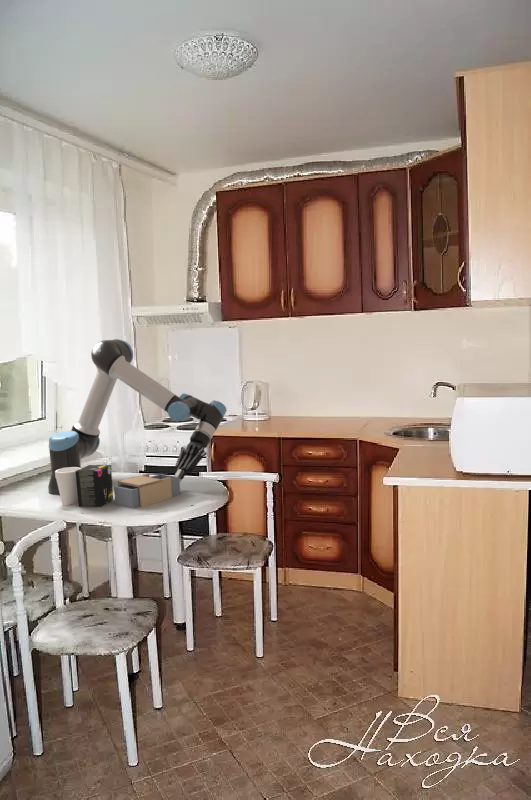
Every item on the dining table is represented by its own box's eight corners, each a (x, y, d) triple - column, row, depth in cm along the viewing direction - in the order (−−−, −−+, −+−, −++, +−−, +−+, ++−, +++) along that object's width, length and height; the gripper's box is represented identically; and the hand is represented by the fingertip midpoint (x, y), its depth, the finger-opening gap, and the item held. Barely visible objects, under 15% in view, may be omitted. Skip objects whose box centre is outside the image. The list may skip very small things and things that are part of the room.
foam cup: (54, 507, 239) (51, 473, 237) (63, 500, 248) (60, 467, 247) (79, 506, 238) (76, 472, 237) (87, 500, 248) (84, 466, 246)
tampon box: (101, 511, 231) (98, 470, 230) (77, 510, 233) (74, 470, 232) (114, 502, 242) (111, 464, 240) (91, 502, 244) (88, 464, 242)
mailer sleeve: (119, 505, 238) (117, 481, 237) (149, 496, 248) (148, 473, 247) (142, 510, 229) (140, 485, 228) (172, 501, 240) (170, 477, 239)
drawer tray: (115, 505, 235) (113, 486, 234) (162, 491, 251) (160, 474, 250) (133, 509, 228) (132, 490, 227) (180, 495, 244) (179, 477, 243)
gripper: (219, 442, 257) (191, 492, 246) (196, 439, 265) (168, 488, 254) (208, 431, 252) (179, 482, 241) (185, 428, 261) (156, 478, 250)
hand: (173, 485), depth 248 cm, fingers closed
